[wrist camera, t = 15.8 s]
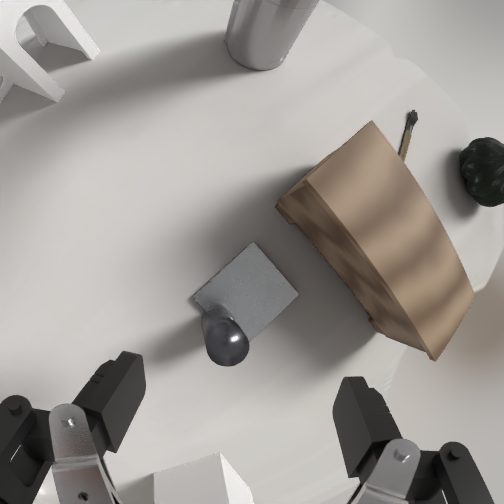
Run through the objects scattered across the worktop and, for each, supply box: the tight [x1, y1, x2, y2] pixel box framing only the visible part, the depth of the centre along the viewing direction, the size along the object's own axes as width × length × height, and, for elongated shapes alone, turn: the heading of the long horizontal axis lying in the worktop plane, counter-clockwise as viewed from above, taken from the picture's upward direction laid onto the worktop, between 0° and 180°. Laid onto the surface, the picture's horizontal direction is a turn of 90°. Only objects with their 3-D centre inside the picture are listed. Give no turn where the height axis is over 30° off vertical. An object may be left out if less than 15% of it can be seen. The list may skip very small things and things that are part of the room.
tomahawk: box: [398, 110, 418, 162], centre depth 42 cm, size 21×7×1 cm, turn 150°
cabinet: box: [275, 121, 475, 361], centre depth 33 cm, size 27×11×13 cm, turn 43°
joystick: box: [193, 242, 299, 366], centre depth 31 cm, size 9×12×10 cm
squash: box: [460, 137, 504, 207], centre depth 41 cm, size 14×15×15 cm
